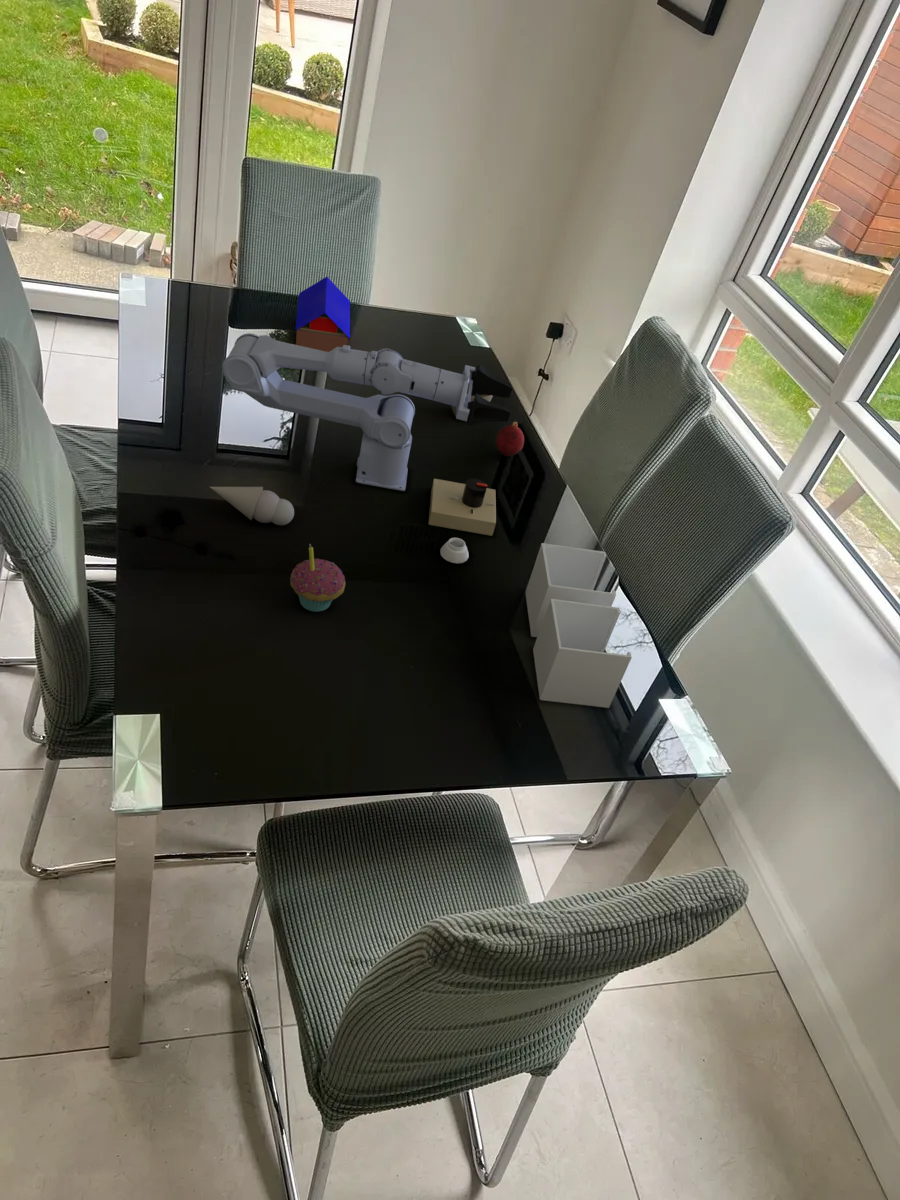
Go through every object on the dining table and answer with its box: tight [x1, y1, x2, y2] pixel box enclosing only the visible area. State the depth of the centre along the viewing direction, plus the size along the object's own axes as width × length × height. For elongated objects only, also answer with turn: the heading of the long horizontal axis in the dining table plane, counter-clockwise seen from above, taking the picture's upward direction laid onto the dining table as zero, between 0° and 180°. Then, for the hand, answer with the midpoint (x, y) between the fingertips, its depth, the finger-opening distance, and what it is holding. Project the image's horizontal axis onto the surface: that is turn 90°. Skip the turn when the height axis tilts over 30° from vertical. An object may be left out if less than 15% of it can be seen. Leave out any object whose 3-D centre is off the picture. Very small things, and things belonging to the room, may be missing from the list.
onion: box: [495, 421, 525, 458], centre depth 188 cm, size 6×6×8 cm
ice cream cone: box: [209, 486, 295, 526], centre depth 156 cm, size 6×6×15 cm
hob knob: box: [462, 477, 488, 508], centre depth 168 cm, size 4×4×4 cm
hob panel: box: [427, 478, 497, 537], centre depth 171 cm, size 12×11×3 cm
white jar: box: [439, 537, 470, 564], centre depth 160 cm, size 5×3×5 cm
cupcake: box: [289, 543, 346, 612], centre depth 141 cm, size 9×8×12 cm
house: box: [295, 276, 351, 352], centre depth 209 cm, size 12×20×12 cm, turn 5°
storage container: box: [525, 542, 632, 709], centre depth 145 cm, size 25×11×11 cm, turn 2°
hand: (510, 404), depth 164 cm, fingers open, 7 cm apart
